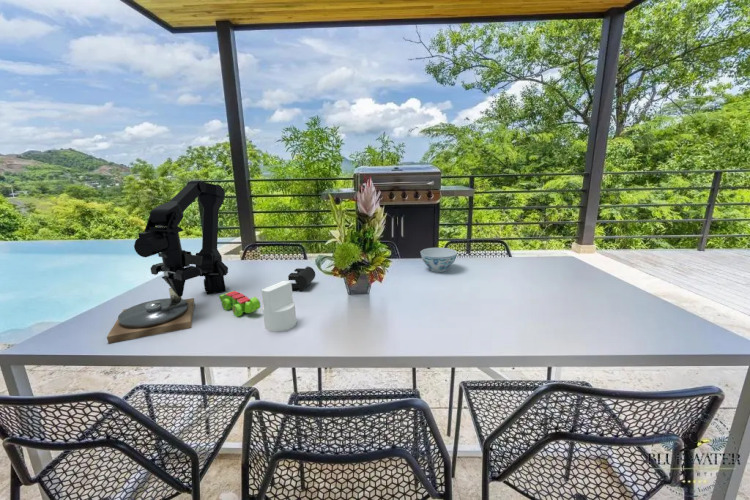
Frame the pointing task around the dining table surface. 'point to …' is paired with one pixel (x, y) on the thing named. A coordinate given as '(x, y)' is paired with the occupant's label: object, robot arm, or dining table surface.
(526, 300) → the dining table surface
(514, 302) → the dining table surface
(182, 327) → the wheel base
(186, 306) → the handwheel
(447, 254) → the chinaware
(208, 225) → the robot arm
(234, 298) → the toy crocodile
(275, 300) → the base with upright slab
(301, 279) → the end cap
